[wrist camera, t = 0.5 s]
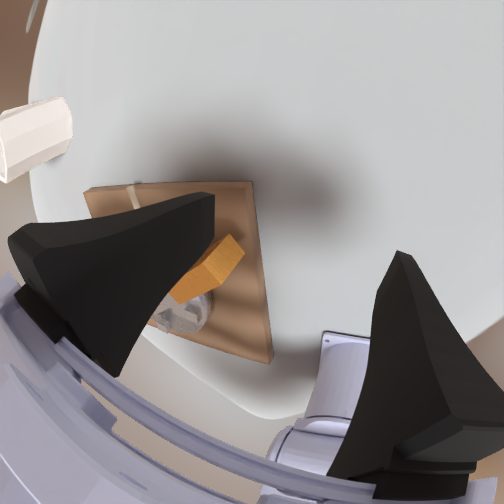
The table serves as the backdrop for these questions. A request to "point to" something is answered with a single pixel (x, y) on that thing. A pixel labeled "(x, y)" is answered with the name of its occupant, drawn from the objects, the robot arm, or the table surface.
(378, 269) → the table surface
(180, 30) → the table surface
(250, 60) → the table surface
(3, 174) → the mug
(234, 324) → the base plate
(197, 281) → the silver orange handled piece
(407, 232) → the table surface
